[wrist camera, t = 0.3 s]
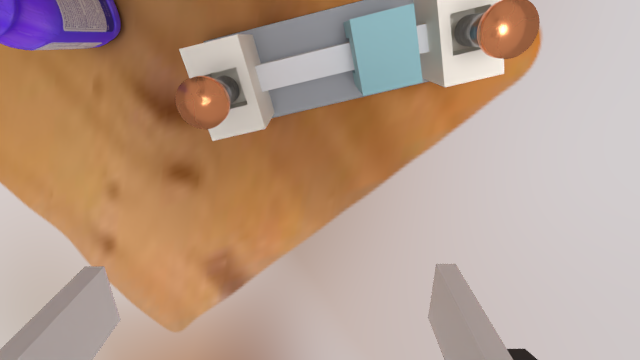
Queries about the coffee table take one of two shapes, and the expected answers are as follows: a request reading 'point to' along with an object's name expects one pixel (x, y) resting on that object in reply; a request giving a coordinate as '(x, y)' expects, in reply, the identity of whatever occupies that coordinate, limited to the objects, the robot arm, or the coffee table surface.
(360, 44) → the carriage
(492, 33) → the copper round-headed post
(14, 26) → the bottle
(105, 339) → the robot arm
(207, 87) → the copper mushroom knob
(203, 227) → the coffee table surface
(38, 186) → the coffee table surface
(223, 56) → the rail station
